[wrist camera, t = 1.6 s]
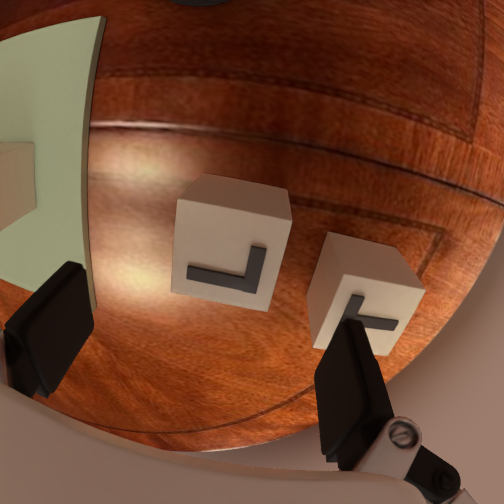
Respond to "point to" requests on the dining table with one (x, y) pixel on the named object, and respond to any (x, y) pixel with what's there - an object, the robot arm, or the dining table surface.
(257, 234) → the tile
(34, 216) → the board
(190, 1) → the travel mug
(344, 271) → the tile
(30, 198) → the tile
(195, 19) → the dining table surface
